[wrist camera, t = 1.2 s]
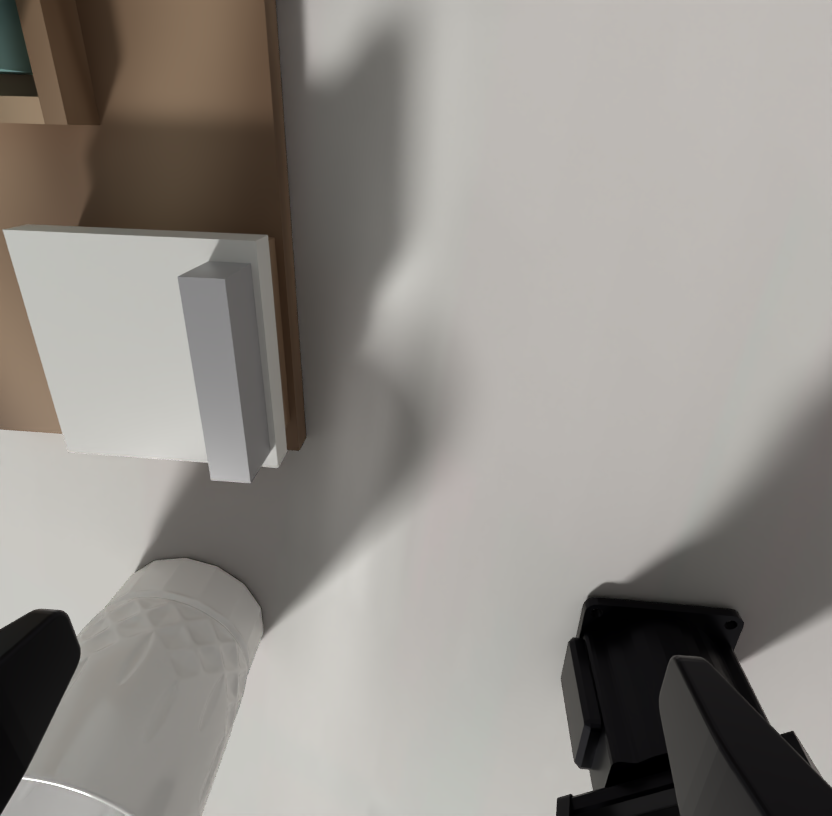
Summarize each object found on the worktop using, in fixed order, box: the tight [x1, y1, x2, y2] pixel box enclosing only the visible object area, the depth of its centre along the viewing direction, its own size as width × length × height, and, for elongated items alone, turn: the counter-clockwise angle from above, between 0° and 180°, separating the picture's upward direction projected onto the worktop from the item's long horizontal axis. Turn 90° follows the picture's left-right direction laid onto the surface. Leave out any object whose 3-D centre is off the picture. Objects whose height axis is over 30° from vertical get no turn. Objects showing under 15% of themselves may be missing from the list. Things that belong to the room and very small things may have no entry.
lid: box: [3, 224, 287, 483], centre depth 17 cm, size 7×7×3 cm
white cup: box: [1, 558, 263, 816], centre depth 22 cm, size 8×8×10 cm
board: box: [0, 0, 306, 451], centre depth 17 cm, size 12×18×2 cm, turn 179°
